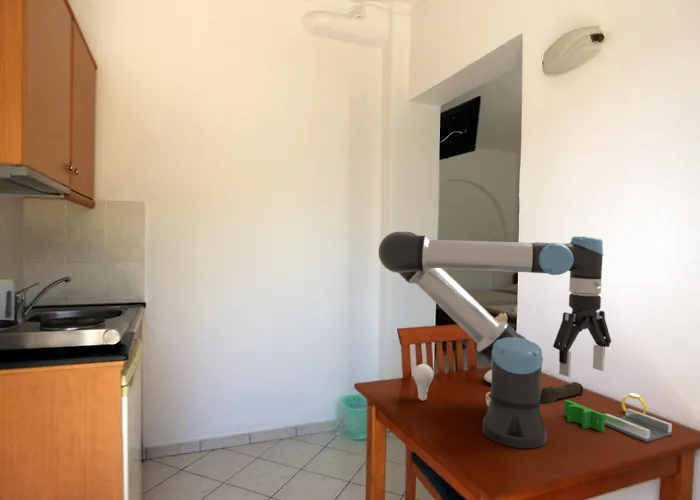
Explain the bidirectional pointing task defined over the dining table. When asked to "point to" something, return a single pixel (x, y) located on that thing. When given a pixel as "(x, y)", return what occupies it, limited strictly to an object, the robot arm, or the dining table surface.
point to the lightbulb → (423, 379)
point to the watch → (634, 398)
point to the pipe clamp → (584, 416)
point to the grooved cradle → (639, 425)
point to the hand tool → (560, 392)
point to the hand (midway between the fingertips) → (581, 372)
